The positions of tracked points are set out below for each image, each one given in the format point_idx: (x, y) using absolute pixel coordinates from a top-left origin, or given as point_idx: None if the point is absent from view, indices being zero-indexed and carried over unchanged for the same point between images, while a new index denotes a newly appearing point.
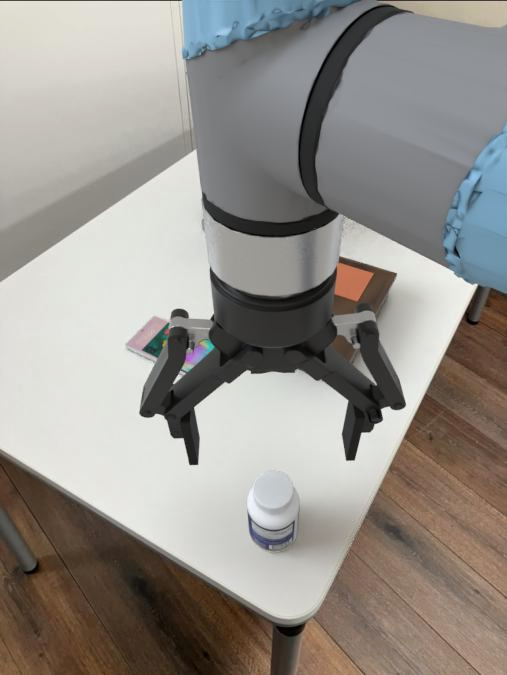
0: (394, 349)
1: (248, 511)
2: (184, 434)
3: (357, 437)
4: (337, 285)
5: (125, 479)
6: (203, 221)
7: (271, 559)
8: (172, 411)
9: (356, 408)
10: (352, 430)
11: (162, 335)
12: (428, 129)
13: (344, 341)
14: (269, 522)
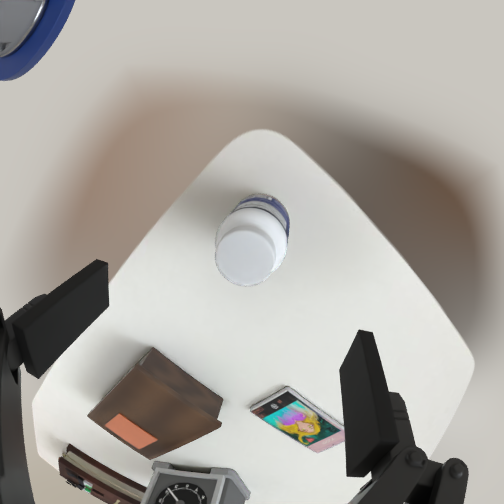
0: (101, 357)
1: (286, 241)
2: (389, 407)
3: (55, 293)
4: (135, 431)
5: (401, 317)
6: (247, 498)
7: (272, 188)
8: (413, 477)
9: (25, 346)
10: (51, 308)
11: (316, 438)
12: None
13: (134, 388)
14: (262, 218)
